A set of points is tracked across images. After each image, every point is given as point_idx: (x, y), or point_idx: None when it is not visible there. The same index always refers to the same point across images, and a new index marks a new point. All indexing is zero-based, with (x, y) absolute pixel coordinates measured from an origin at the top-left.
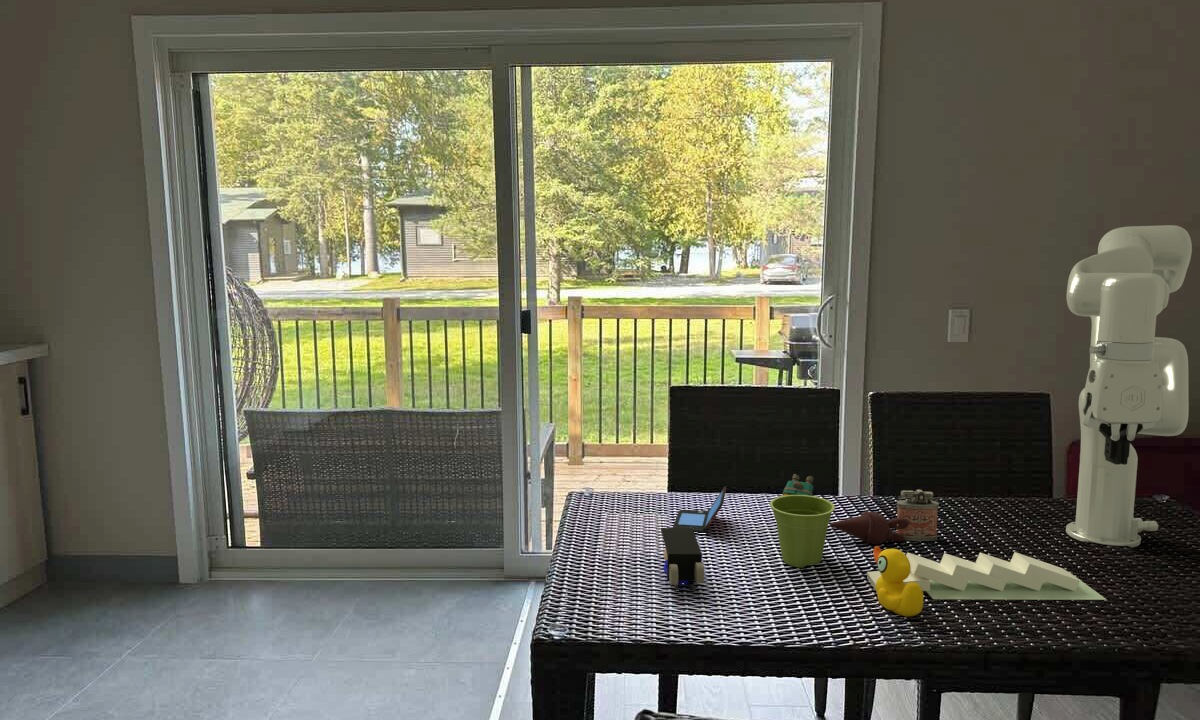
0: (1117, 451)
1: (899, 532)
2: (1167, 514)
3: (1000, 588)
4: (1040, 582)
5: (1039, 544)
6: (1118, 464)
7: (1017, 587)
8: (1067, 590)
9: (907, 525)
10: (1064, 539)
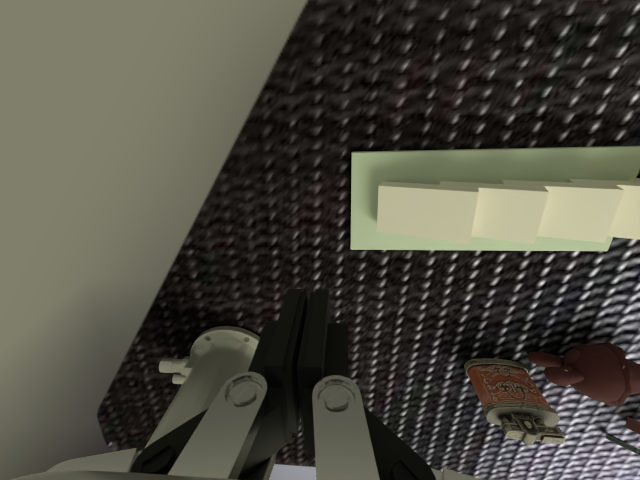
0: (326, 327)
1: (527, 373)
2: (123, 412)
3: (508, 180)
4: (444, 184)
5: None
6: (321, 290)
7: None
8: None
9: (549, 369)
10: None
